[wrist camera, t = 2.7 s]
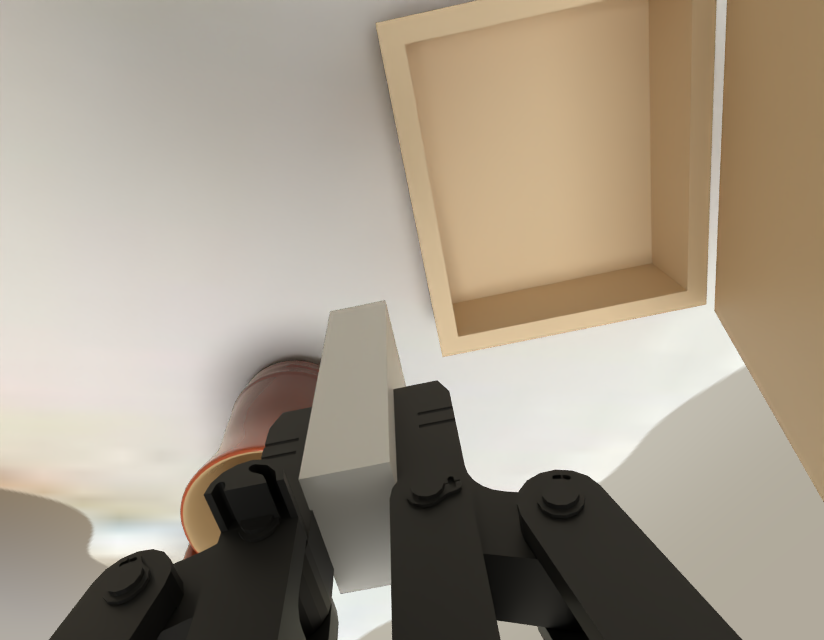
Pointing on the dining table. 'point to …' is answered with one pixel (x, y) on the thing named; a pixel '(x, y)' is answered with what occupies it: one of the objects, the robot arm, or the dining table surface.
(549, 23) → the mailer box
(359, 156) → the dining table surface
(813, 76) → the lid
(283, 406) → the mug
